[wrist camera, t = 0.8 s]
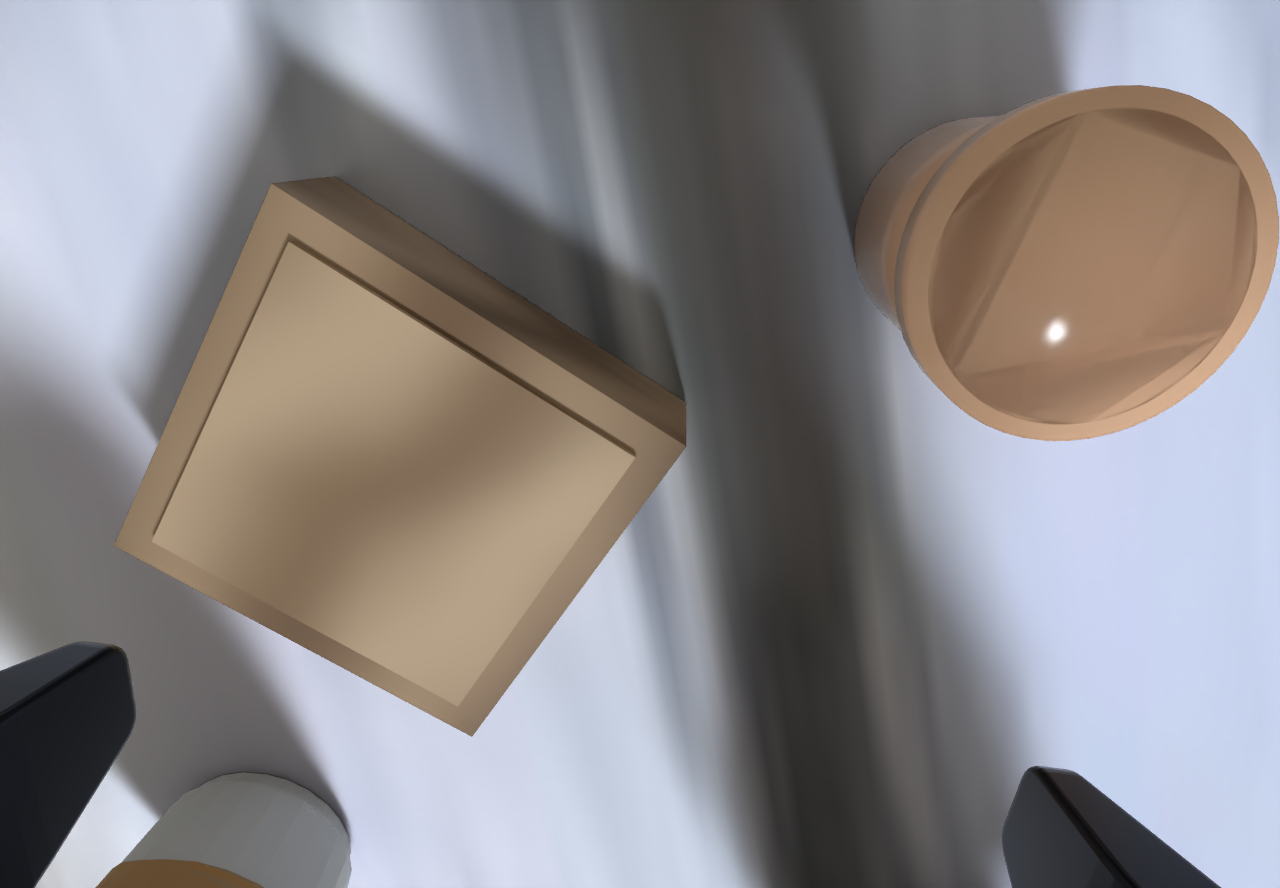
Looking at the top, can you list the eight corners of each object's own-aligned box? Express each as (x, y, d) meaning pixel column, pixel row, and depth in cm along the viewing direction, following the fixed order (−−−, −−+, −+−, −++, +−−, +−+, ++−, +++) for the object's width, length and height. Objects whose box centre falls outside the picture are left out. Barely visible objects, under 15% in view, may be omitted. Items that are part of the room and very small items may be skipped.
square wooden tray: (686, 402, 20) (686, 449, 17) (497, 664, 23) (470, 741, 20) (335, 176, 18) (267, 183, 15) (187, 493, 22) (109, 549, 19)
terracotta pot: (1145, 197, 17) (1360, 226, 12) (972, 393, 19) (1089, 497, 14) (952, 46, 16) (1087, 1, 11) (793, 267, 18) (838, 325, 13)
